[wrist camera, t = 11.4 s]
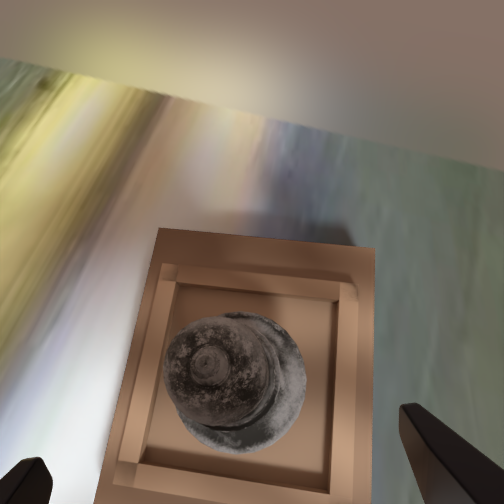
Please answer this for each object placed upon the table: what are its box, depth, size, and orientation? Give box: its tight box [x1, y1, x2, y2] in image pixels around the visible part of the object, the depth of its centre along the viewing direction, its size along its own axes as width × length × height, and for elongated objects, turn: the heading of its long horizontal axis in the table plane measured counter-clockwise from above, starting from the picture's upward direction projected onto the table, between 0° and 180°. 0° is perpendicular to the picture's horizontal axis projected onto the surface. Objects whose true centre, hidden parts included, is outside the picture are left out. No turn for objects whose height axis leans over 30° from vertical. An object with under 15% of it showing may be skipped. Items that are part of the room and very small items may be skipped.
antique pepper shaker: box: [163, 311, 307, 455], centre depth 14 cm, size 6×6×12 cm
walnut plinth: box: [93, 228, 375, 504], centre depth 21 cm, size 16×13×4 cm
